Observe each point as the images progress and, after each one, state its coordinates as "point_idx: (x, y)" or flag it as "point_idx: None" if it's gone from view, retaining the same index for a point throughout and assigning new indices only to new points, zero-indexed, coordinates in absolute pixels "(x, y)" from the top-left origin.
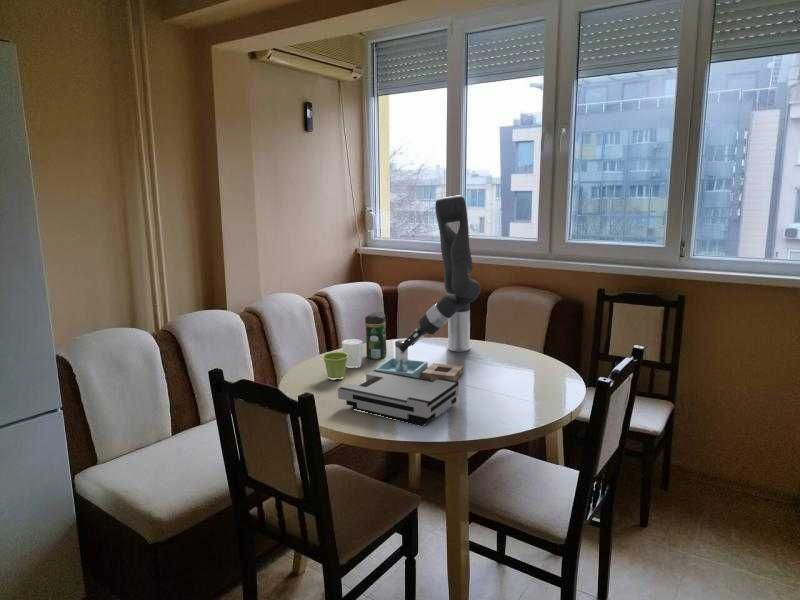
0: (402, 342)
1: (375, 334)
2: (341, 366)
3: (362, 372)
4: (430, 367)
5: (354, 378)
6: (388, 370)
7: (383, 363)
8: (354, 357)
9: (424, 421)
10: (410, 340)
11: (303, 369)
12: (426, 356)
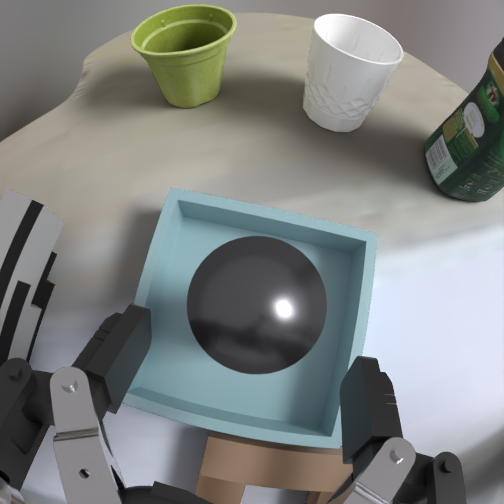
0: (234, 319)
1: (485, 113)
2: (156, 71)
3: (268, 146)
4: (300, 463)
5: (192, 136)
6: (150, 261)
7: (271, 211)
8: (312, 84)
9: None
10: (360, 379)
11: (266, 21)
12: (499, 359)
